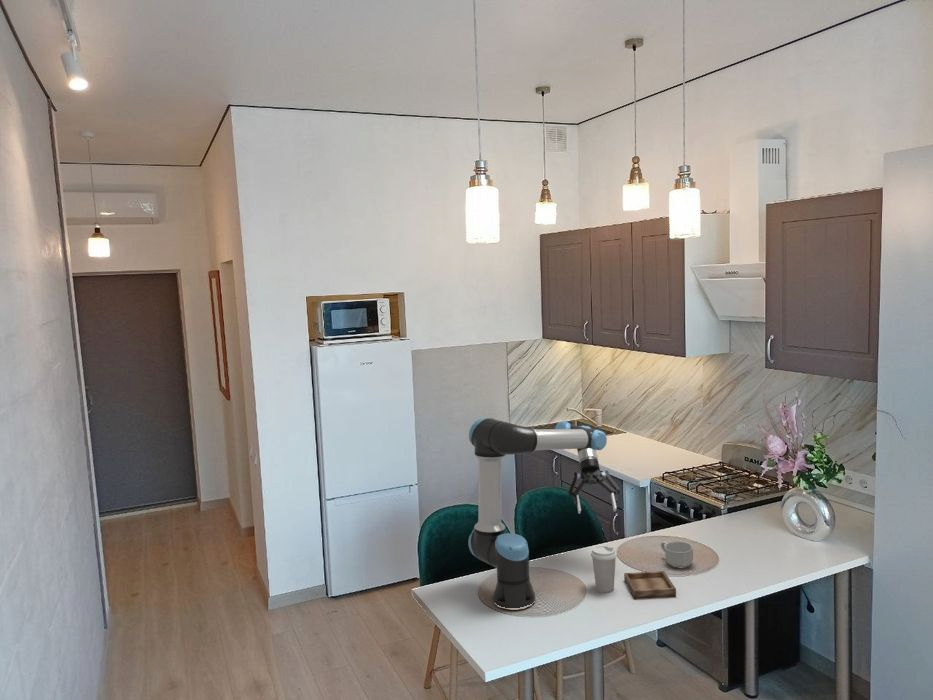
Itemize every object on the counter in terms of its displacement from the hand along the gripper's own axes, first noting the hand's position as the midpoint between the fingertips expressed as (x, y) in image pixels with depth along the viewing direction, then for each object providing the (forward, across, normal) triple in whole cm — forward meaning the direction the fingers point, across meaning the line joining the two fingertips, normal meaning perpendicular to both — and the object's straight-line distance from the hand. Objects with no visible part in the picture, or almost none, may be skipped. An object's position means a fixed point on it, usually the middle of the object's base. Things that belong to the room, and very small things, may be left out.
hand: (597, 511), depth 265 cm
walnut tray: (+28, -15, -8) cm, 33 cm away
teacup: (+14, -31, -23) cm, 41 cm away
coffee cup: (+26, +1, -10) cm, 28 cm away
